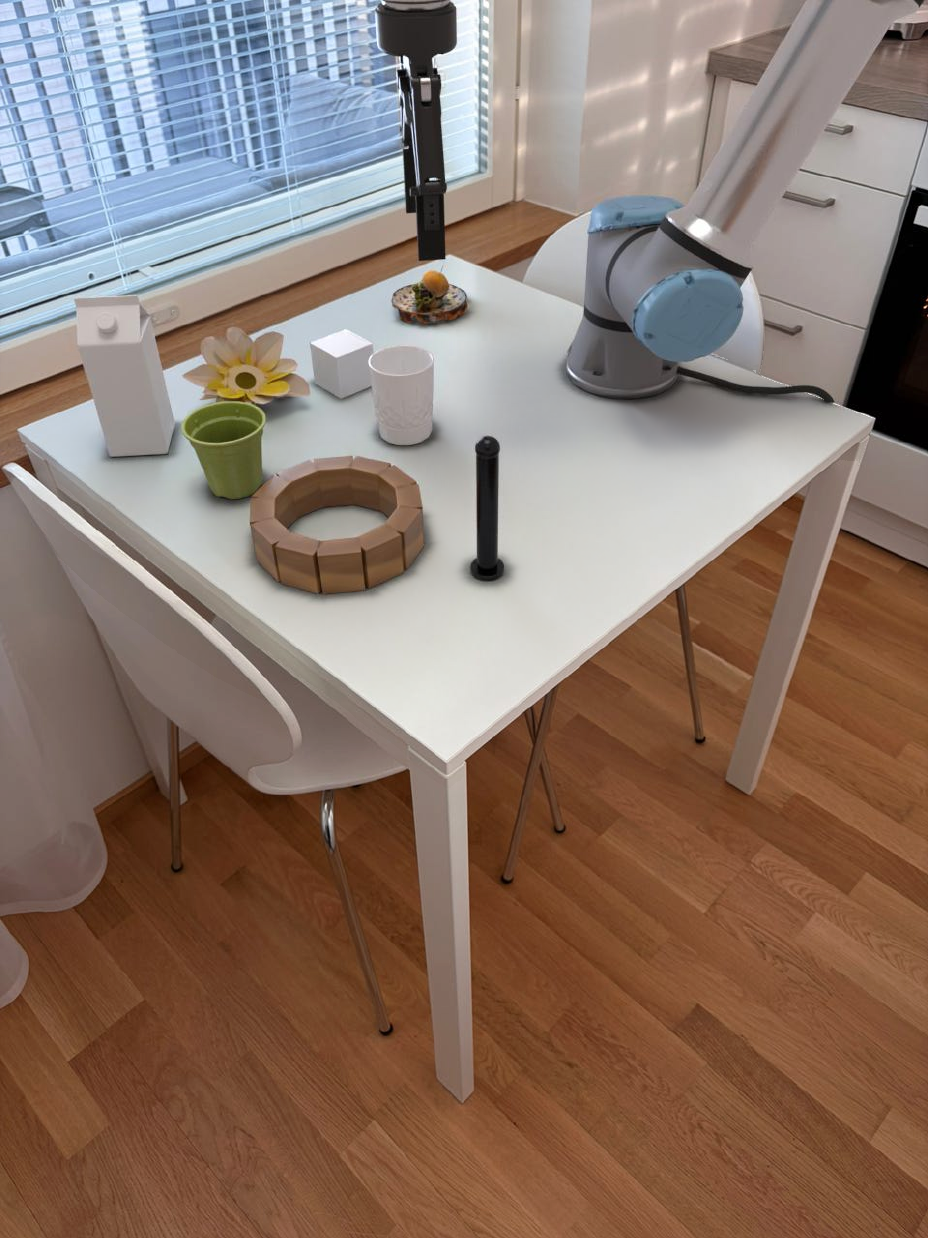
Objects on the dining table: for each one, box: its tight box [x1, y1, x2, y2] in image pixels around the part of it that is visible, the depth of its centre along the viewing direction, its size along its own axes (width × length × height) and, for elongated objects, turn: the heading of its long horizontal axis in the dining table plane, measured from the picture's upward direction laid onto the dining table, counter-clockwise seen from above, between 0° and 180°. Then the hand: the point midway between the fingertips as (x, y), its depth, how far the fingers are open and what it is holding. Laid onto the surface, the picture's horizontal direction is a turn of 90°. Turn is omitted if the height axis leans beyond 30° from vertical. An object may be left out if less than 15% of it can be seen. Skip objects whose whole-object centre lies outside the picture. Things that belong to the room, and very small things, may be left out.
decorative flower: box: [181, 325, 312, 406], centre depth 128 cm, size 15×11×10 cm
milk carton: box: [73, 294, 176, 457], centre depth 119 cm, size 7×7×19 cm
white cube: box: [309, 328, 375, 400], centre depth 134 cm, size 6×6×6 cm
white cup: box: [369, 344, 435, 446], centre depth 123 cm, size 8×8×10 cm
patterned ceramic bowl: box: [390, 266, 468, 325], centre depth 151 cm, size 12×12×8 cm
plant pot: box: [180, 401, 267, 500], centre depth 115 cm, size 9×9×9 cm
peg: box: [469, 435, 505, 582], centre depth 100 cm, size 4×4×16 cm
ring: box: [249, 455, 425, 595], centre depth 108 cm, size 18×18×5 cm
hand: (424, 234), depth 105 cm, fingers open, 13 cm apart
